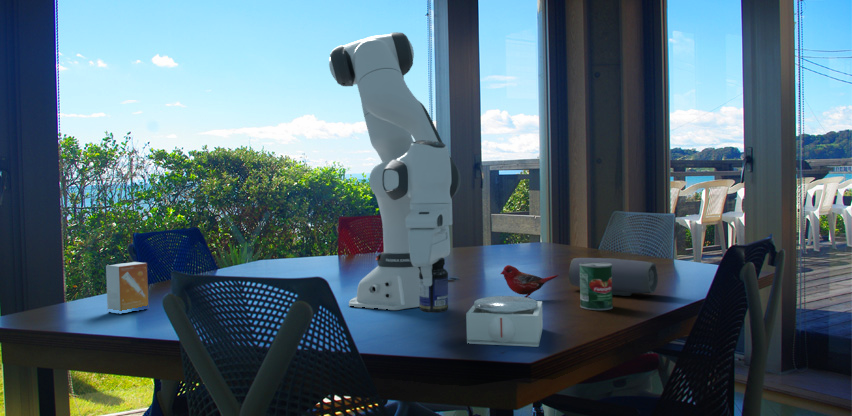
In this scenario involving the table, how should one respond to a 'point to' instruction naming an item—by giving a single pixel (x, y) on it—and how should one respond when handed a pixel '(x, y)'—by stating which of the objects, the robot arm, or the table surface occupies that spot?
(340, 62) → the robot arm
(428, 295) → the pill bottle
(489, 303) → the scale pan
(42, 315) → the table surface
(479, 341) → the scale housing
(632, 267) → the bluetooth speaker
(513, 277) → the decorative bird figurine
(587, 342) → the table surface
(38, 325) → the table surface
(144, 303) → the small box
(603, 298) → the canned tomato
